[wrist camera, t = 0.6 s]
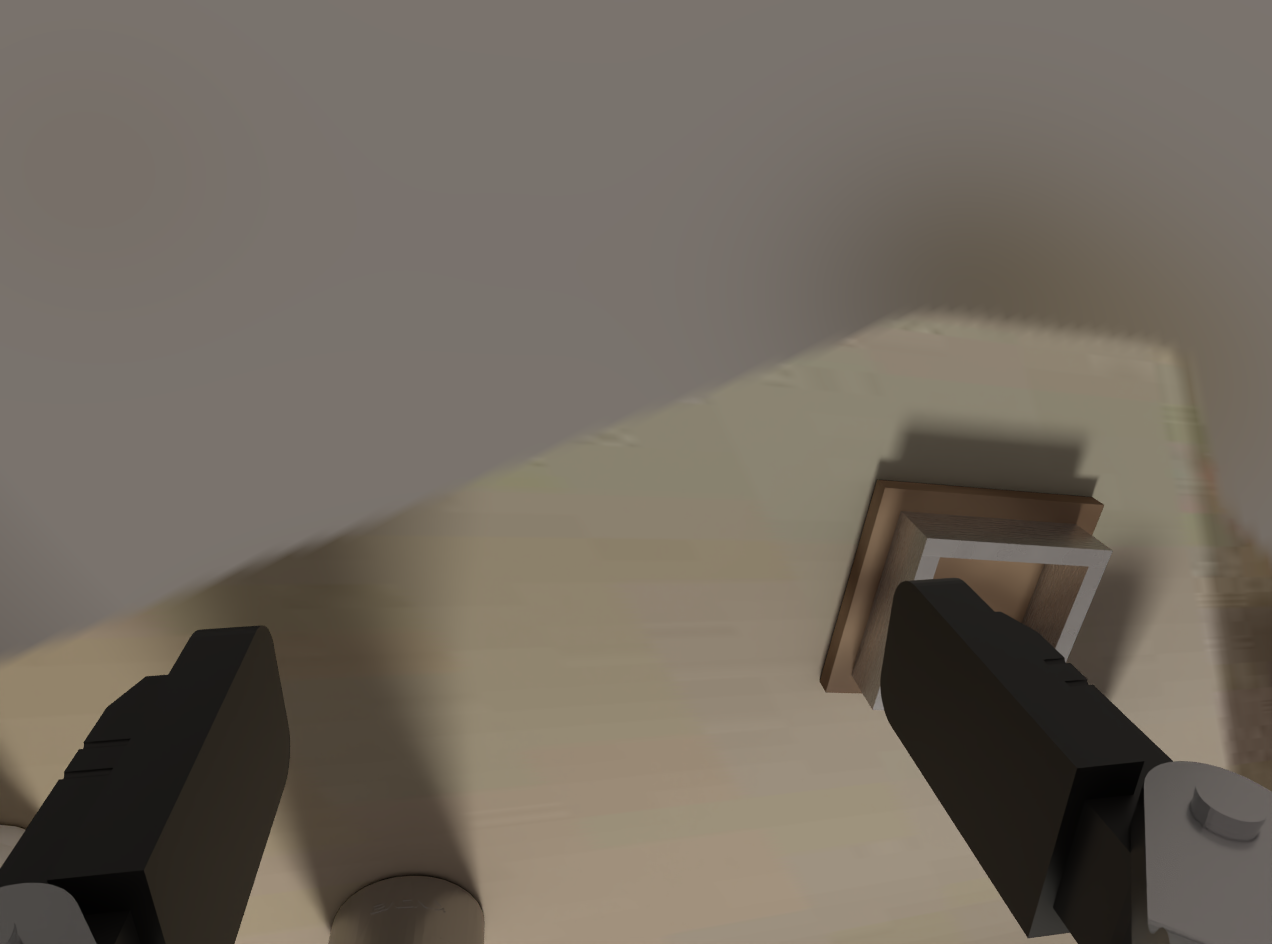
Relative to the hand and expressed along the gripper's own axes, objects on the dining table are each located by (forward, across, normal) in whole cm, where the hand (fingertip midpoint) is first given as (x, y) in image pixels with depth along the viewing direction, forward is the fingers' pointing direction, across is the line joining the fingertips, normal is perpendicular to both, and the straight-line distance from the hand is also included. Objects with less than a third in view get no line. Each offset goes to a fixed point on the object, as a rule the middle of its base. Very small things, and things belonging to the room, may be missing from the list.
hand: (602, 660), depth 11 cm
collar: (+28, +23, -18) cm, 41 cm away
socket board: (+29, +23, -18) cm, 41 cm away
